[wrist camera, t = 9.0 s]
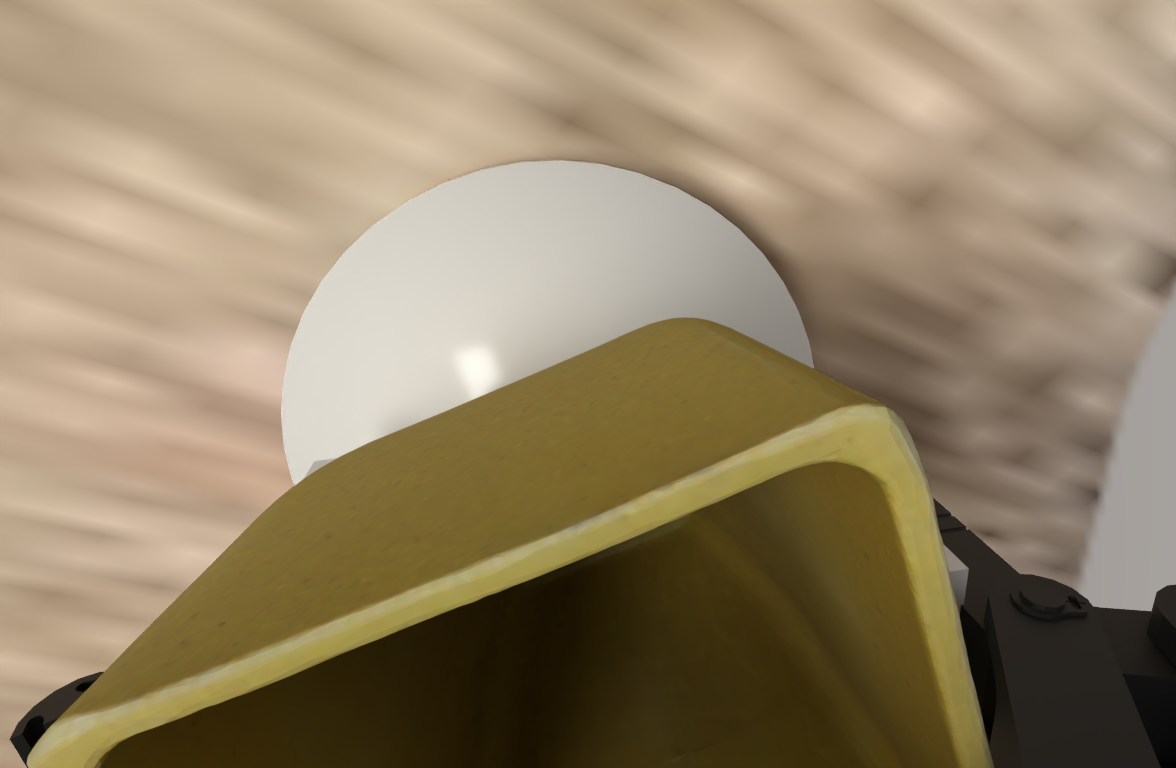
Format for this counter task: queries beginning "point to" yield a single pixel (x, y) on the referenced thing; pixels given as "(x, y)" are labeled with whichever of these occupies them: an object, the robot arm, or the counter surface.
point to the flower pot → (573, 590)
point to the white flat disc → (511, 295)
